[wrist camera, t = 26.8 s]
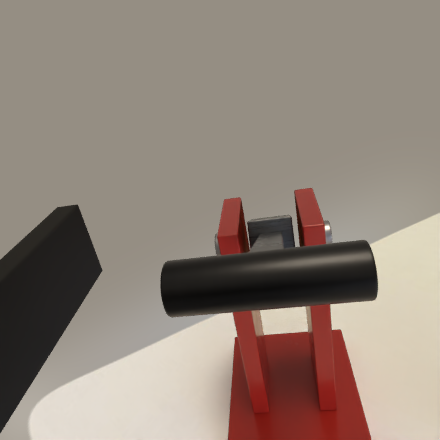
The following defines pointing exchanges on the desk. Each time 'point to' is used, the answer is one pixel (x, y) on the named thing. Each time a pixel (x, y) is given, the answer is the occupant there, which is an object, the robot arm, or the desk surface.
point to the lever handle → (270, 274)
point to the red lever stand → (290, 356)
